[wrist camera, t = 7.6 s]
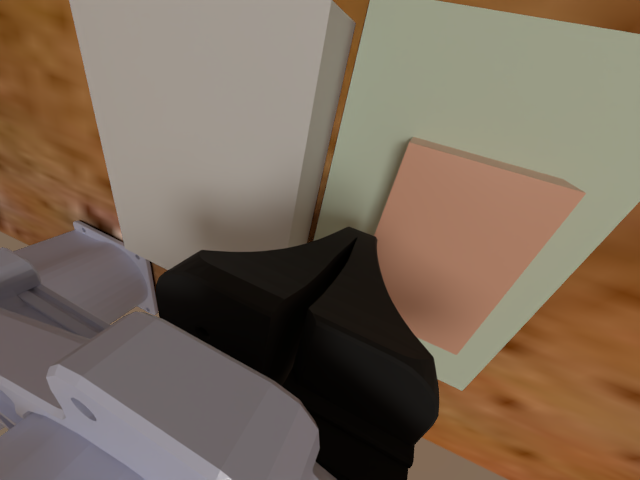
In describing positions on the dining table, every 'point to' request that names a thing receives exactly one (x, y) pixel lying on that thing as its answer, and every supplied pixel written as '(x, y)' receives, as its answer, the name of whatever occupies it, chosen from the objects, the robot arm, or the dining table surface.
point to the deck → (213, 117)
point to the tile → (462, 236)
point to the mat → (492, 131)
